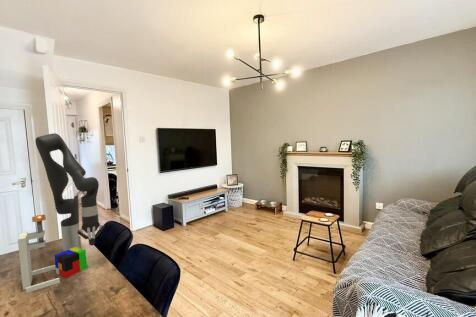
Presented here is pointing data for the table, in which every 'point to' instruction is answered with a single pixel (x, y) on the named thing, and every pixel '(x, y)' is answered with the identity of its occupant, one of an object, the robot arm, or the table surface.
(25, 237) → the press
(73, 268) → the puzzle toy
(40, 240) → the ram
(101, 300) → the table surface
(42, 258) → the table surface
